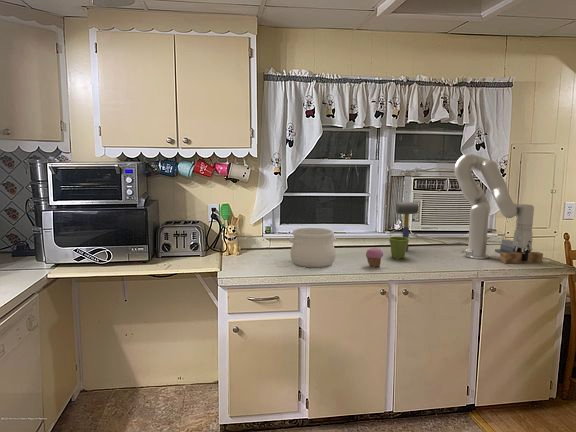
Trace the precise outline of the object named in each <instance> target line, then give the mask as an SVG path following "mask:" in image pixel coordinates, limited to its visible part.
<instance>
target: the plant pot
mask: <svg viewBox="0 0 576 432" xmlns="http://www.w3.org/2000/svg"><path fill="white" fill-rule="evenodd" d="M410 240H411V238H406V237H403V236H389V237H388V241H389V245H390V253H391V258H393V259H398V260H400V259H405V257H406V253H407V250H406V249H407V245H408V246H409V241H410Z"/></svg>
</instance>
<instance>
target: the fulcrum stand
mask: <svg viewBox="0 0 576 432" xmlns="http://www.w3.org/2000/svg"><path fill="white" fill-rule="evenodd" d="M521 251H522V252H523V249H521ZM501 252H516V251H515V247H514V245H513V240H510V239H502V240H501V244H500V247H499V248H497V249H494V253H498V254H499V255H500V254H501Z"/></svg>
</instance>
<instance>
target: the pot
mask: <svg viewBox="0 0 576 432" xmlns="http://www.w3.org/2000/svg"><path fill="white" fill-rule="evenodd" d="M292 235H293V237H290V238H289V243H291V244H292V246H291V248H290V260H291V261H292V262H293V264H295V265H297V266H299V267H302V266H303V267H302V268H311V267H318V268H324V267H329V266H331V265H332V264H333V263H334V262H335V259H336V254H337V252H336V248H335V246H334V242H336V241H337V236H336V235H335V232H334V230H331V229H328V228H320V227H304V228H296V229H293V231H292Z"/></svg>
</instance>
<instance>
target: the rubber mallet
mask: <svg viewBox="0 0 576 432" xmlns="http://www.w3.org/2000/svg"><path fill="white" fill-rule="evenodd" d="M395 213H396V214H398V215H404V217H403V218H404V221H403V227H402V237H406V238H409V236H410V228H409V220H410V219H409V218H410V215H415V214H417V213H419V203H418V202H415V201H414V202H413V201H402V202H397V203H396V204H395ZM409 239H410V238H409ZM408 249H409V244H408V245H407V249H406V251H408Z"/></svg>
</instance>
